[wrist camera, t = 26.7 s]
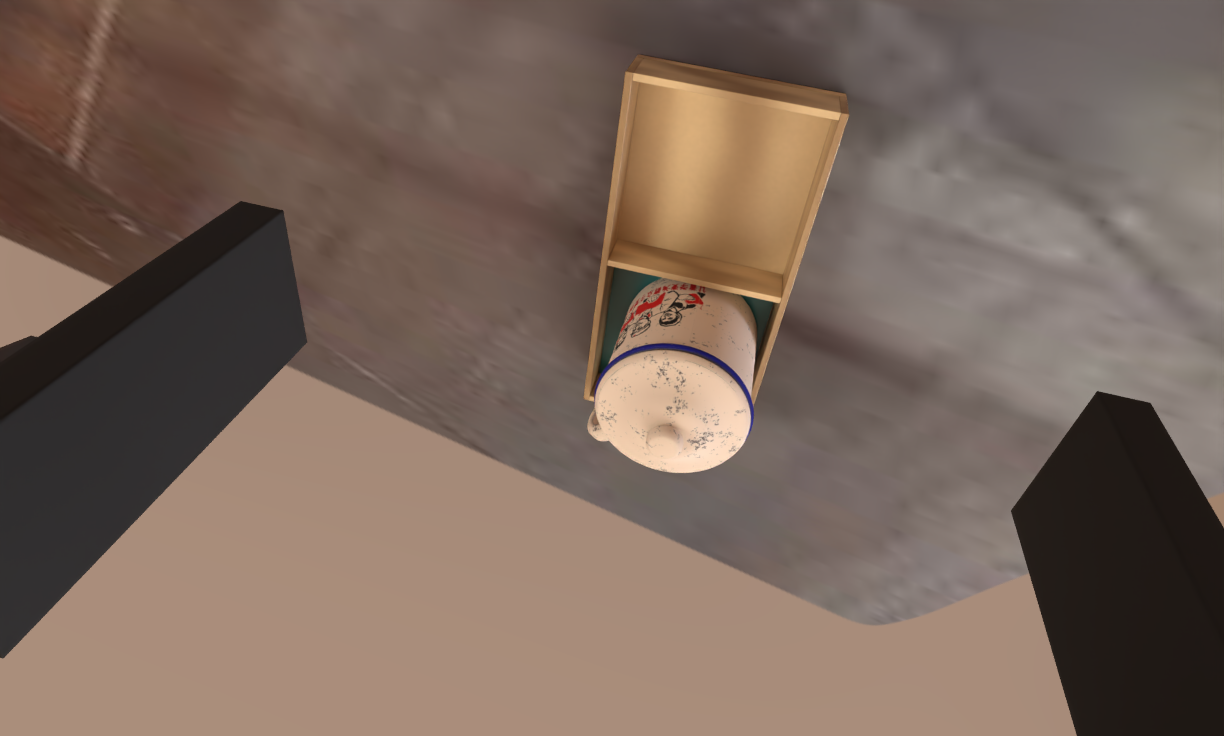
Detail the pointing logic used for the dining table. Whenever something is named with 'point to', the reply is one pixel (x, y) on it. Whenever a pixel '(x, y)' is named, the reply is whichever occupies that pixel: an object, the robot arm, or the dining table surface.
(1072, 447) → the robot arm
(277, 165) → the dining table surface
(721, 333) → the teacup with lid
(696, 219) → the organizer
